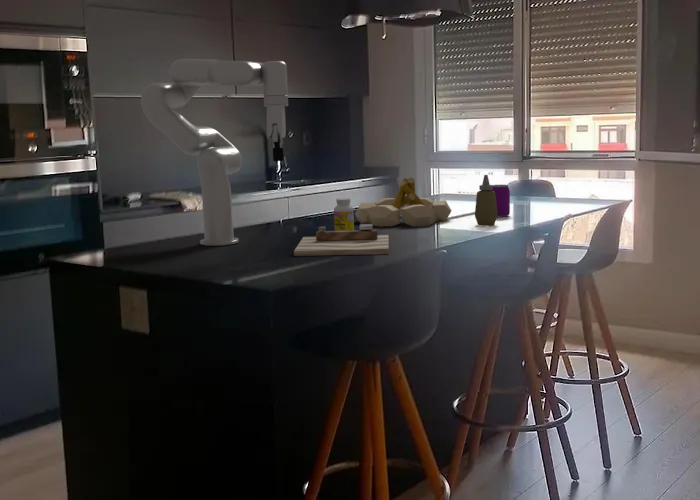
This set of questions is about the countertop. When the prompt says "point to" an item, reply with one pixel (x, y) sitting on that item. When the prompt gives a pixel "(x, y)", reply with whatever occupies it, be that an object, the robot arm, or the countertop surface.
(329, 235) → the link
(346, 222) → the supplement bottle
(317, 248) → the hinge board
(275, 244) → the countertop surface
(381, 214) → the campfire
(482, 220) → the squeeze bottle
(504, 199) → the beverage can
